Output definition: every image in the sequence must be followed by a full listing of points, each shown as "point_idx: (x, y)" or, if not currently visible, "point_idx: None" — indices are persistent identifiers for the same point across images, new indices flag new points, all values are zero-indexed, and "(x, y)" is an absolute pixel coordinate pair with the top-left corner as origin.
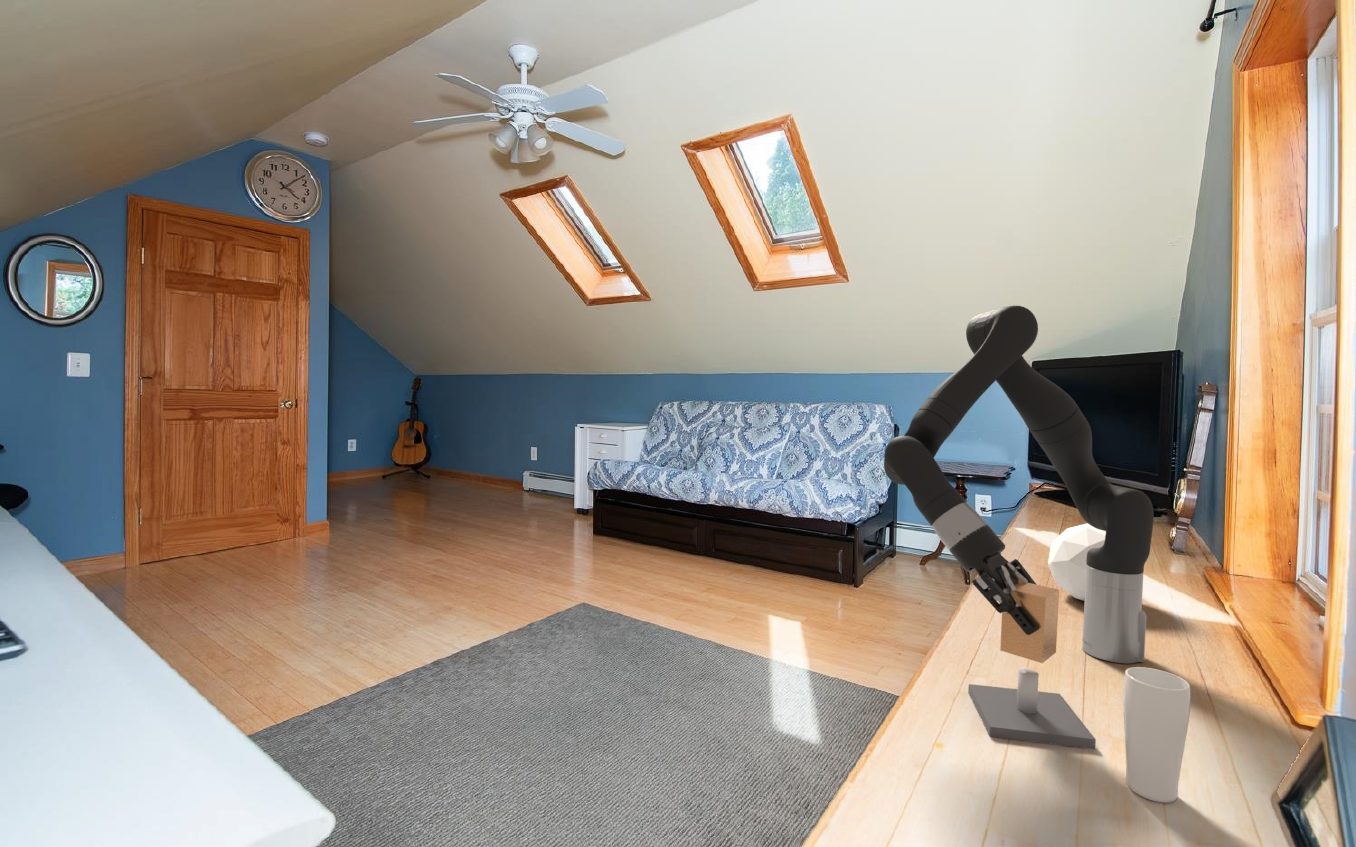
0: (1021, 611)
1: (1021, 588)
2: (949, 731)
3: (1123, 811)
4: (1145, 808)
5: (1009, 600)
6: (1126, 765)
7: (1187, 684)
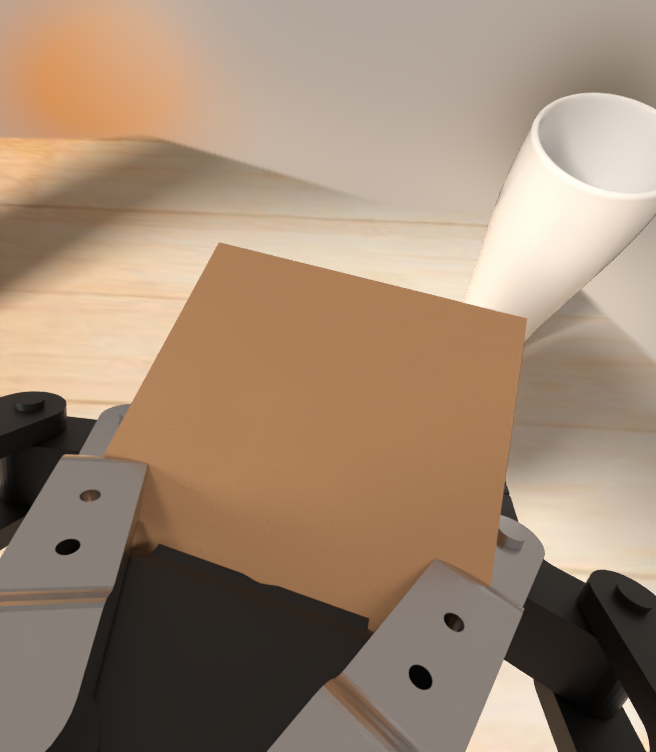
0: None
1: (364, 508)
2: (529, 733)
3: (589, 366)
4: (552, 337)
5: (643, 613)
6: None
7: (595, 95)
